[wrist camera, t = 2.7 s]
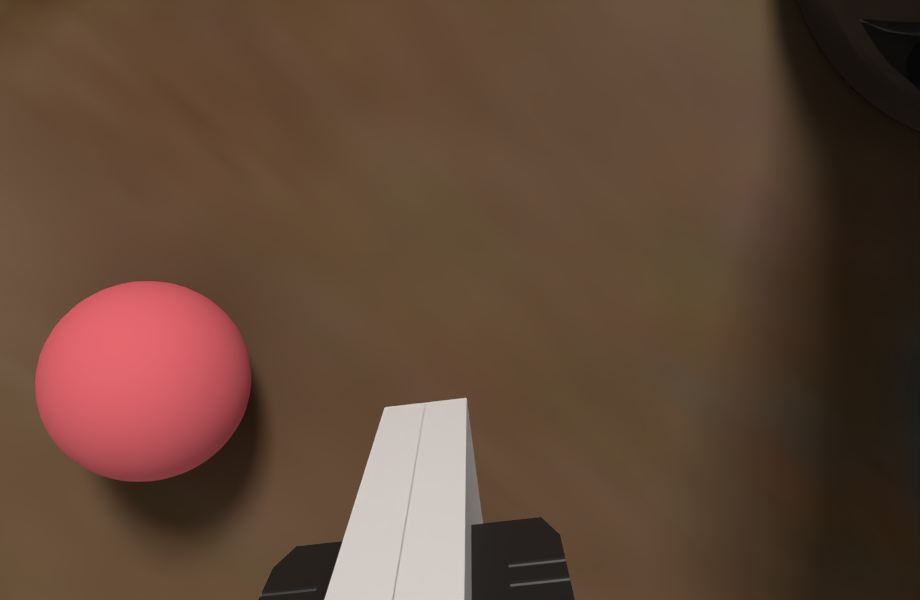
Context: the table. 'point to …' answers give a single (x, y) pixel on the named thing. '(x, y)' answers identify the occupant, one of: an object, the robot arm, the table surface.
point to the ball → (143, 381)
